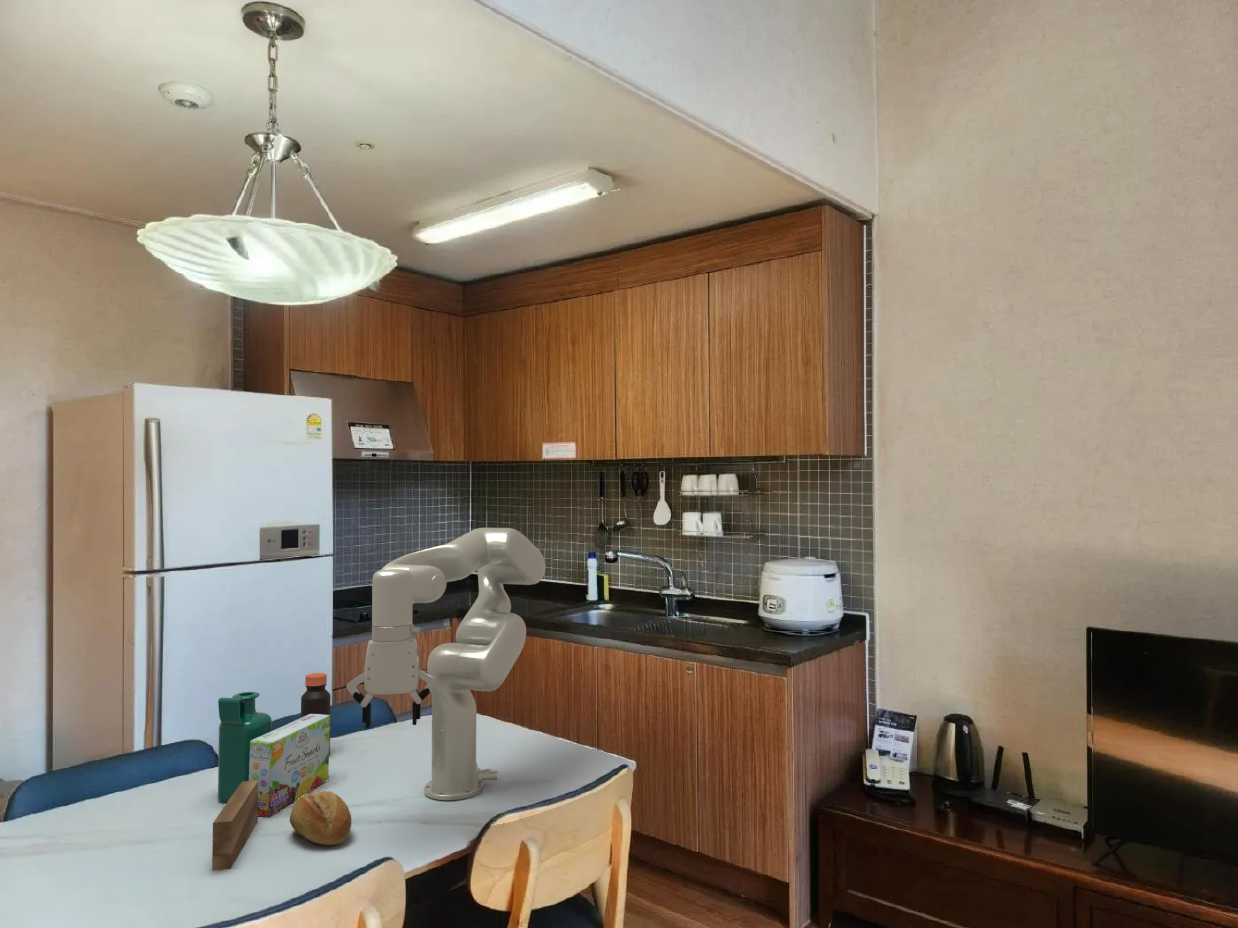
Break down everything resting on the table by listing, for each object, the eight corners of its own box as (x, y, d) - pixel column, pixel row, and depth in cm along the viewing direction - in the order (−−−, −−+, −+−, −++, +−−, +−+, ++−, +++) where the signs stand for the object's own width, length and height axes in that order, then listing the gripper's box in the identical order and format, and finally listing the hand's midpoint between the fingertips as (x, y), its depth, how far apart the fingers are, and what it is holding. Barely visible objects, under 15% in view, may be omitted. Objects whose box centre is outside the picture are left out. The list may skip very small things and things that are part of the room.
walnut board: (257, 821, 155) (258, 780, 156) (231, 868, 136) (231, 820, 136) (241, 822, 155) (241, 781, 155) (212, 869, 135) (212, 822, 136)
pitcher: (240, 787, 173) (241, 686, 174) (274, 790, 172) (276, 688, 173) (208, 805, 164) (210, 698, 165) (244, 808, 162) (246, 700, 163)
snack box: (271, 818, 157) (272, 741, 158) (246, 816, 158) (247, 740, 159) (330, 780, 178) (331, 713, 178) (308, 778, 179) (309, 711, 180)
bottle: (294, 758, 193) (295, 675, 193) (319, 750, 198) (319, 670, 199) (311, 763, 189) (312, 679, 190) (335, 755, 194) (336, 674, 195)
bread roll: (313, 858, 140) (314, 812, 140) (277, 833, 150) (277, 791, 150) (363, 840, 147) (363, 797, 147) (325, 818, 157) (325, 777, 157)
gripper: (438, 628, 158) (438, 716, 158) (347, 632, 155) (346, 722, 154) (438, 634, 151) (437, 727, 150) (342, 638, 147) (341, 733, 147)
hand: (391, 724), depth 152 cm, fingers open, 8 cm apart
